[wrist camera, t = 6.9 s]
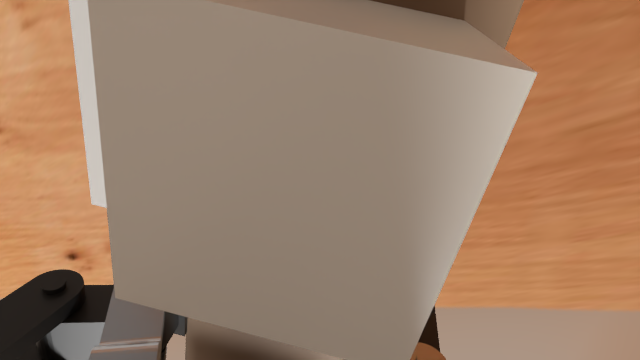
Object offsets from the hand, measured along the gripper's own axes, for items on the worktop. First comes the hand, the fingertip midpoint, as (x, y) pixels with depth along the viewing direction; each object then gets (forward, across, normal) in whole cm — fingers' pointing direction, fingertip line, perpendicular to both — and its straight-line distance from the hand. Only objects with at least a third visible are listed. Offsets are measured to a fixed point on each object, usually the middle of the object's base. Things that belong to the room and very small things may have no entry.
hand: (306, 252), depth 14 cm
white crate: (-3, 0, -6) cm, 7 cm away
